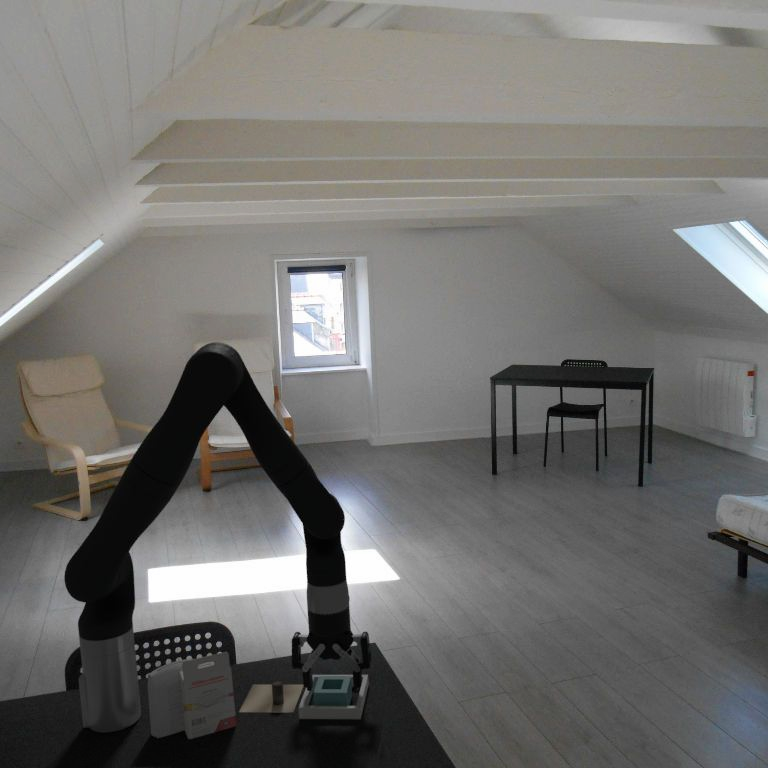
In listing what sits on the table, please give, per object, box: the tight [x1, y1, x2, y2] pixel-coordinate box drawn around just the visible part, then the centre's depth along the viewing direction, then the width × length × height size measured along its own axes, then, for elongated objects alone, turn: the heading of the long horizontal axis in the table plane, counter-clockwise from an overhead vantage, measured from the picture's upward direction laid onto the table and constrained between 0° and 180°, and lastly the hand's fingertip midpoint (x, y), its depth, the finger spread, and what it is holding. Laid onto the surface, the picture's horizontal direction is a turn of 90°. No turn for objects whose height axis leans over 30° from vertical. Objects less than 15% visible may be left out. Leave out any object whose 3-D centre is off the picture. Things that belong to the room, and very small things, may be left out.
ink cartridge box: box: [179, 651, 237, 740], centre depth 140 cm, size 9×5×15 cm, turn 115°
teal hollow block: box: [312, 676, 353, 706], centre depth 147 cm, size 6×8×4 cm
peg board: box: [238, 681, 304, 714], centre depth 149 cm, size 10×10×4 cm
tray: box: [298, 674, 370, 720], centre depth 147 cm, size 11×12×3 cm
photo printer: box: [147, 658, 195, 739], centre depth 141 cm, size 10×4×12 cm, turn 121°
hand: (333, 688), depth 145 cm, fingers open, 8 cm apart
